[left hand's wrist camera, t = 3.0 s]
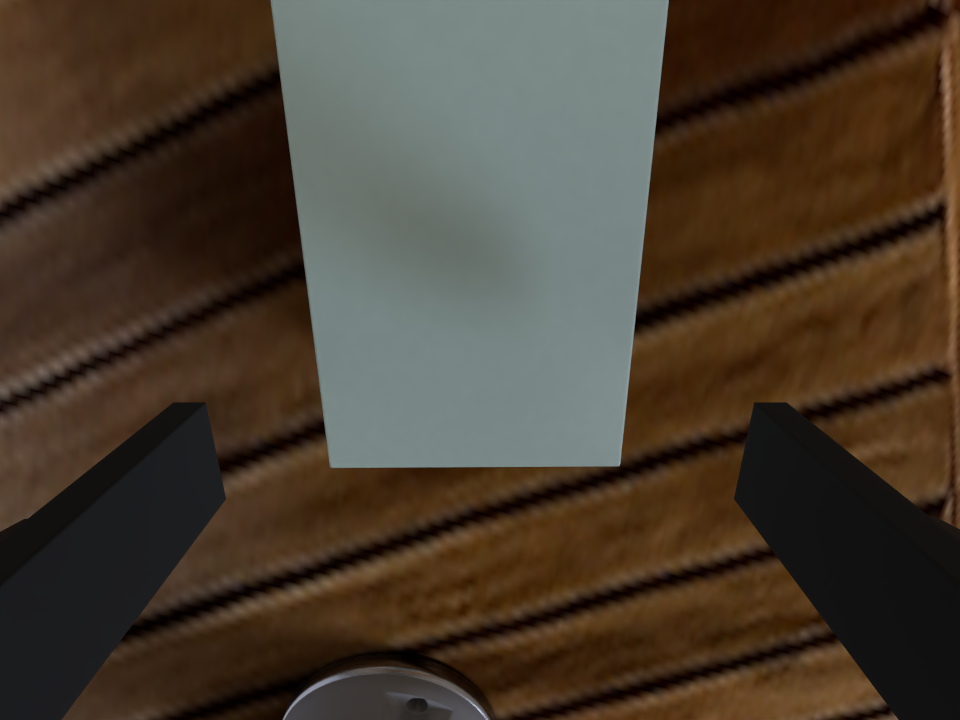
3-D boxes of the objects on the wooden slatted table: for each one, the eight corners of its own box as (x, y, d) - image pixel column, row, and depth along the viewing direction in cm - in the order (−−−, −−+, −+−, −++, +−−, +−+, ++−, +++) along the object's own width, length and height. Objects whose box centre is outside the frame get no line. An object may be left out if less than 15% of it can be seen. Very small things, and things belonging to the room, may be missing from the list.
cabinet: (340, -74, 21) (237, -246, 12) (604, -76, 21) (695, -250, 12) (377, 369, 28) (329, 468, 19) (575, 368, 28) (620, 467, 19)
